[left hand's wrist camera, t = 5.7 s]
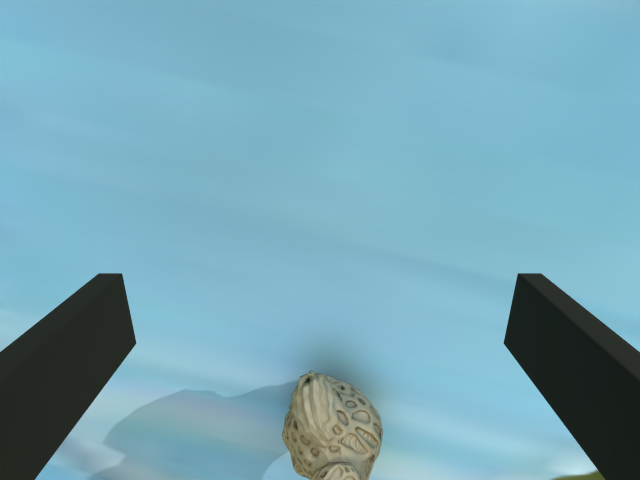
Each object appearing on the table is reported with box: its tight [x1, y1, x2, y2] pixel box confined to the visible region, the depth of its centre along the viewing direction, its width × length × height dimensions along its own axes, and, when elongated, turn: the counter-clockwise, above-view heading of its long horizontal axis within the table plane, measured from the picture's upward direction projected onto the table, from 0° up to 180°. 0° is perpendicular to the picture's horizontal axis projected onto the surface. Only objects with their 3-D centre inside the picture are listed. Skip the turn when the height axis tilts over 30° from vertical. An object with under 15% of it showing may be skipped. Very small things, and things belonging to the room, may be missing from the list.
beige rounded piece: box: [282, 371, 383, 480], centre depth 43 cm, size 21×12×15 cm, turn 13°
